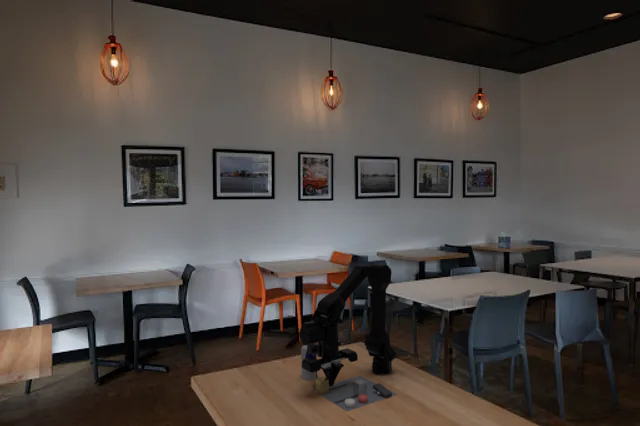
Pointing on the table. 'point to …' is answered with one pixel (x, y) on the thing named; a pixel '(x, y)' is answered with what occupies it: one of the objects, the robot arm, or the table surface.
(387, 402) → the table surface
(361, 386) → the steel slider
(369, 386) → the panel
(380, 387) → the dark grey small block
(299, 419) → the table surface
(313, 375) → the energy drink
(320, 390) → the brass slider
